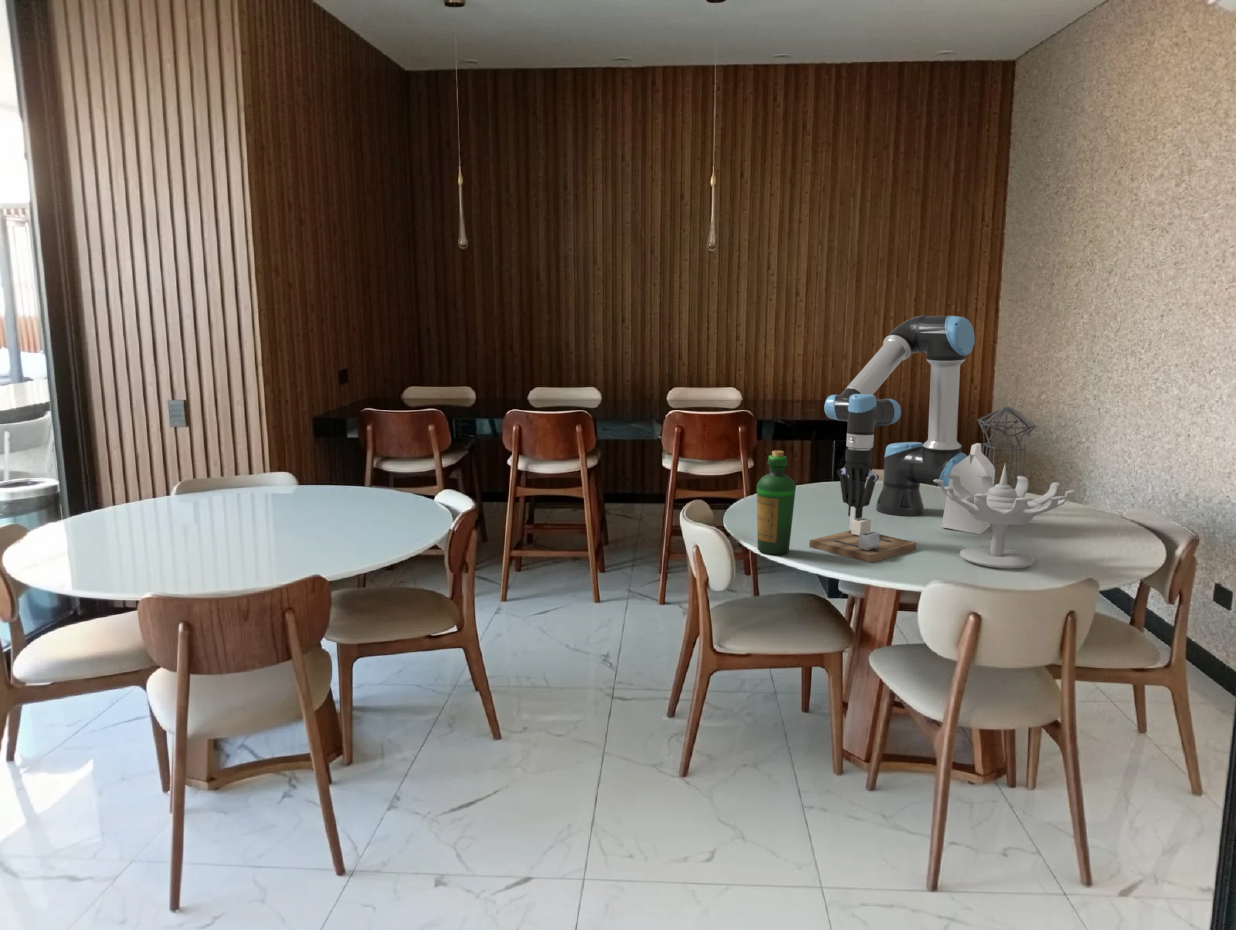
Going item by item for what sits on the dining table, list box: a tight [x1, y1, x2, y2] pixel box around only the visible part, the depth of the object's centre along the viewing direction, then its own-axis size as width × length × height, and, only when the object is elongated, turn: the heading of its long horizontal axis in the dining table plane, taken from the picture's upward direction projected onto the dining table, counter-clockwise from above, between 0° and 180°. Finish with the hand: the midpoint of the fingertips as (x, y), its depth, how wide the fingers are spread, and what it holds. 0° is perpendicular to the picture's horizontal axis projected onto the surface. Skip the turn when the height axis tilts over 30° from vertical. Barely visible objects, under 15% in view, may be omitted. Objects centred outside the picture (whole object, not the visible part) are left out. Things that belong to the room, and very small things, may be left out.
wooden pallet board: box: [808, 529, 917, 563], centre depth 256 cm, size 20×22×2 cm
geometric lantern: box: [976, 406, 1038, 490], centre depth 307 cm, size 16×16×35 cm
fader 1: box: [850, 517, 872, 535], centre depth 263 cm, size 3×5×4 cm, turn 130°
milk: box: [940, 442, 996, 535], centre depth 280 cm, size 12×12×26 cm
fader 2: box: [859, 530, 881, 550], centre depth 248 cm, size 3×5×4 cm, turn 130°
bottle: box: [756, 450, 797, 556], centre depth 249 cm, size 11×11×28 cm
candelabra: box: [933, 463, 1077, 570], centre depth 243 cm, size 34×35×27 cm
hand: (854, 528), depth 265 cm, fingers closed
